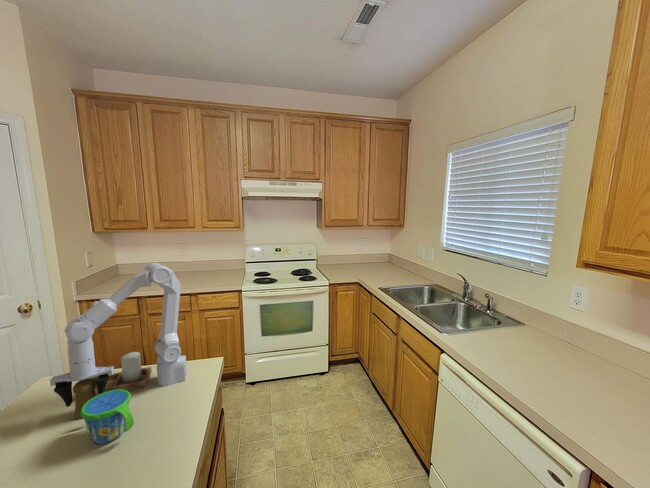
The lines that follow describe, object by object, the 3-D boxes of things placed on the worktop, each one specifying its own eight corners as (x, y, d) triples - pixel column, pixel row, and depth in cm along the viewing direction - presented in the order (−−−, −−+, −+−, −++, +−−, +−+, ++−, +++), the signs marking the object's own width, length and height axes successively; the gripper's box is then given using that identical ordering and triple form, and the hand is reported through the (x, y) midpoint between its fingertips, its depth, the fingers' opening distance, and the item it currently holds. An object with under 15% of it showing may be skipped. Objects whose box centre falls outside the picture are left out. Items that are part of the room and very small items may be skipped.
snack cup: (147, 429, 78) (145, 396, 77) (106, 460, 68) (103, 423, 67) (112, 414, 84) (109, 383, 82) (69, 440, 74) (66, 406, 73)
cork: (97, 404, 88) (94, 372, 86) (102, 413, 84) (99, 380, 82) (72, 415, 83) (68, 381, 82) (76, 425, 79) (72, 390, 78)
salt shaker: (143, 375, 102) (141, 350, 101) (140, 384, 97) (138, 358, 96) (125, 379, 100) (123, 353, 98) (121, 388, 94) (118, 361, 93)
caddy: (151, 373, 105) (151, 366, 104) (146, 388, 96) (145, 381, 95) (89, 385, 97) (89, 377, 97) (77, 403, 88) (76, 395, 88)
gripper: (115, 348, 88) (118, 387, 89) (57, 357, 82) (61, 398, 84) (108, 359, 81) (111, 401, 83) (44, 369, 76) (49, 414, 77)
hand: (85, 401), depth 83 cm, fingers open, 7 cm apart
